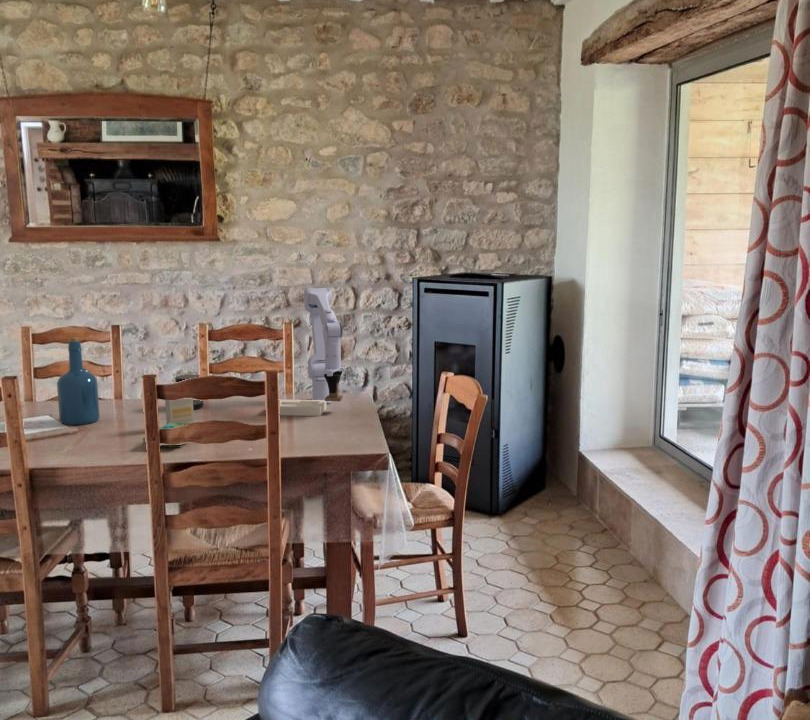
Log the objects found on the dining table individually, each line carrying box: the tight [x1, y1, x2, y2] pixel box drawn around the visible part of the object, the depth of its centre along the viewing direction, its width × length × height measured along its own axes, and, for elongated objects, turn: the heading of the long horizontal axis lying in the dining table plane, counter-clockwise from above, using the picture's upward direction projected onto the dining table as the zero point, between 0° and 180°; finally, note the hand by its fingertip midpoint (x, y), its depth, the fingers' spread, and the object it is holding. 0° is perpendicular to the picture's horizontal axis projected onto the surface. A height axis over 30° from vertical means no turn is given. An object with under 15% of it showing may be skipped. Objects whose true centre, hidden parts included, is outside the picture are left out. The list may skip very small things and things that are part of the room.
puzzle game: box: [142, 423, 189, 448], centre depth 260 cm, size 12×5×20 cm
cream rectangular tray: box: [279, 399, 327, 417], centre depth 300 cm, size 12×20×3 cm, turn 85°
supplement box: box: [164, 399, 195, 424], centre depth 276 cm, size 8×5×13 cm, turn 124°
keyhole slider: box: [325, 383, 344, 402], centre depth 298 cm, size 6×6×6 cm
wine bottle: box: [56, 336, 101, 426], centre depth 285 cm, size 14×13×30 cm
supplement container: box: [174, 374, 205, 411], centre depth 307 cm, size 10×10×12 cm
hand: (333, 392), depth 298 cm, fingers closed on keyhole slider, 3 cm apart
